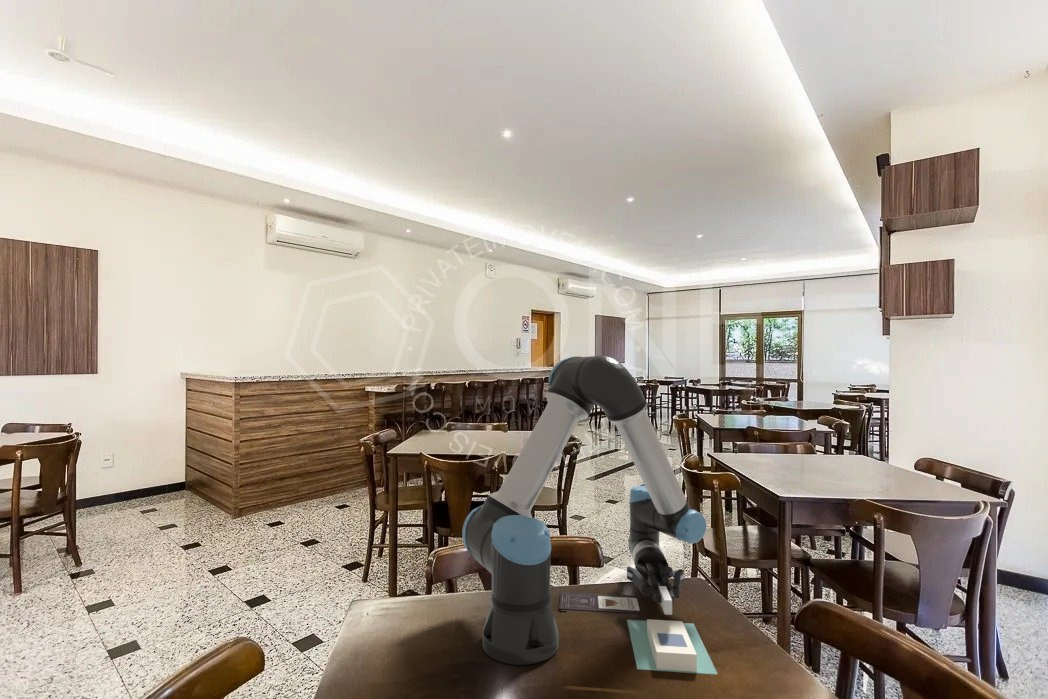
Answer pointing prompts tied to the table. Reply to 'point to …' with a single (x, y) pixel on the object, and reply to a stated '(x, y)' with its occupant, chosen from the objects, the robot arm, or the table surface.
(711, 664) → the mat
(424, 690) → the table surface
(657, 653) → the card box
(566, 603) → the chocolate bar
